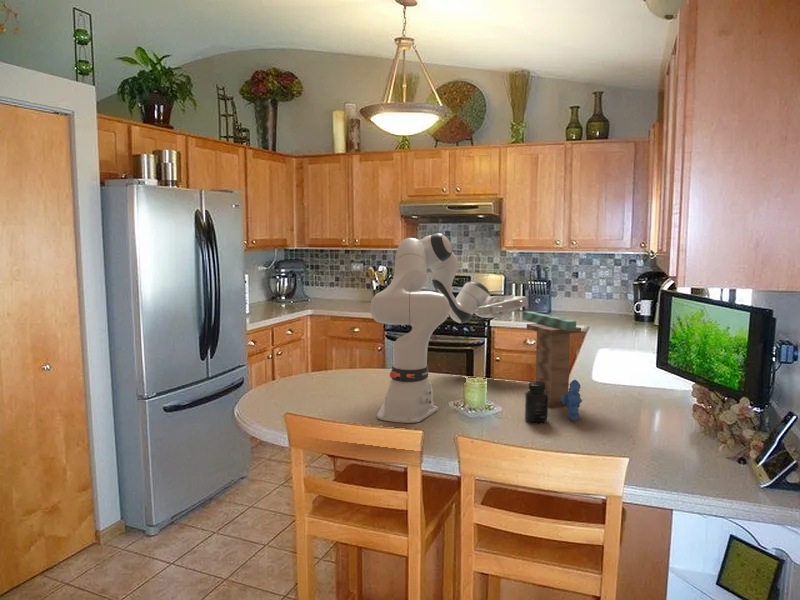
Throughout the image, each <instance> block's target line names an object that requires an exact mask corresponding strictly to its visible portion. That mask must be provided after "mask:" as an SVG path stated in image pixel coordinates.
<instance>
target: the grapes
mask: <svg viewBox="0 0 800 600" xmlns="http://www.w3.org/2000/svg"><path fill="white" fill-rule="evenodd" d="M581 388H582V387H581V384H580V382H579V381H578V380H577V379H572V381H571V382H570V383H569V387H568V394H564V395H563V396H562V397H561V398H560V400H561V401H562V403H563V404H567V406H566V407H567V412H568V413H567V417H569V419H570V420H571V421H576V420H577V419H578V417H579V415H580V412H579V409H580V407H581V403H582V402H583V400H582V398H581V394H580V391H581V390H580V389H581Z"/></svg>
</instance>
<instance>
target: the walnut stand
mask: <svg viewBox="0 0 800 600" xmlns="http://www.w3.org/2000/svg"><path fill="white" fill-rule="evenodd" d="M526 329H527V330H530V331H534V332H536V350H535V351H536V352H535V355H536V356H535V357H536V358H535V381H539V382H543V383H545V390H544V391H545V392H546V393H547V394H548V409H551V408H559V407H567V404H563V403H562V401H561V400H560V398H561V397H562V396H563V395H564V394H568V391H569V390H568V389H569V388H570V385H569V384H570V383H569V382H570V381H569V380H570V350H571V349H570V346H571V334H581V333H582V327H578V326H576V330H574V331H567V330H563V329H559V328H555V327H550V326H546V325H542V324H538V323H527V324H526ZM524 394H525V395H526V392H525V393H524ZM525 395H524V396H525Z"/></svg>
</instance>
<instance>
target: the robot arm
mask: <svg viewBox="0 0 800 600" xmlns="http://www.w3.org/2000/svg"><path fill="white" fill-rule="evenodd" d="M395 253H396V254H395V256H394V271H393V278H392V279H391V280H392V281H391V282H390V283H389V285H388V286H386V287H385V288H384V289H383V290H382V291H379V292H377V293H376V294H374V296H373V298H372V299H371V302H370V304H369V305H370V306H369V310H370V315H371V317H372V319H373V320H374V321H375V322H376V323H378V324H379V323H380V324H383V325H385V324H386V325H391V326H393V325H394V326H396V325H397V326H400V325H401V326H403V325H404V326H405V325H406V326H412V329H411V330H410V331H409V332H408V333H405V334H403V335H401V336H399V337H397V339H395V341H394V343H393V346H392V351H393V353H392V356H393V357H392V358H393V360H392V362H393V364H392V366H391V371H390V372H389V377H390V381H389V383H388V387H387V390H386V393H385V395H384V399H383V401H384V402H382V405H381V407H379V408H380V409H379V410H378V412H377V414H376V418H377V419H378V420H382V421H386V422H394V423H402V424H403V423H408V424H409V423H413V424H414V423H419V422H421V421H423V420H424V419H426V418H427V417H430V416H431V415H432V414H434V413H436V412H438V411H439V408H438V406H437V405H435V404H434V389H433V384H432V383H431V382H430V381H429V379H428V377H429V367H428V365H427V362H428V361H427V360H428V347H429V341H430V339H431V336H432V335H433V332H435V330H436V329H437V328H438V327H439V326H441V324H443V323H445V321H446V320H447V319H448V317H450V318H451V319H452V320H453V321H454V322H456V323H458V324H465V323H468V322H470V320H471V319H472V316H473V315H474V314H475V315H476V316H478V317H479V318H486V319H487V318H488V319H489V318H492V319H493V318H502V317H503V316H505V315H508V314H509V313H512V312H515V311H517V310H518V309H521V308H525V307H527V306H529V305H528V303H529V302H528V298H527V296H524V295H523V296H521V295H517V296H515V294H511V295H510V294H509V295H493V296H492V295H491V293H490V291H489V289H488V288H487V287H486V286H485V285H484V284H482V283H480V281H479V282H478V281H473V280H472V281H467V282H465V283H464V285H463V286H462V287H461V290H460V291H459V293H458V294H457V295H456V297H455V296H454V294H453V293H452V291H453V290H452V287H453V283H454V280H455V277H456V274H457V272H458V269H459V261H458V257H457V255H456V254H455V253H454V252H453V247H452V243H451V241H450V240H449V238H448V237H447V235H445V234H443V233H441V232H437V233H434V234H431V235H426V236H424V237H423V238H420V239H417V238H414V237H407V238H403V240H401V241H400V242H399V244H398V246H397V249H396V252H395ZM428 269H429V270H430V271H431V273H432V274H431V275H432V286H433V287H434V289H435V291H431V290H423V288H424V287H425V286H426V283H427V270H428Z"/></svg>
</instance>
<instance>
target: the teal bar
mask: <svg viewBox="0 0 800 600" xmlns="http://www.w3.org/2000/svg"><path fill="white" fill-rule="evenodd" d="M522 319H523V321H526V322H530V323H533V324H535V323H538V324H542V325H546V326H550V327H555V328H559V329H563V330H567V331H574V330H576V327H577V321H576V320H574V319H573V320H572V319H568V318H562V317H560V316H554V315H551V314H550V315H549V314H544V313H540V312H537V311H532V310H527V311H523V312H522Z"/></svg>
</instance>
